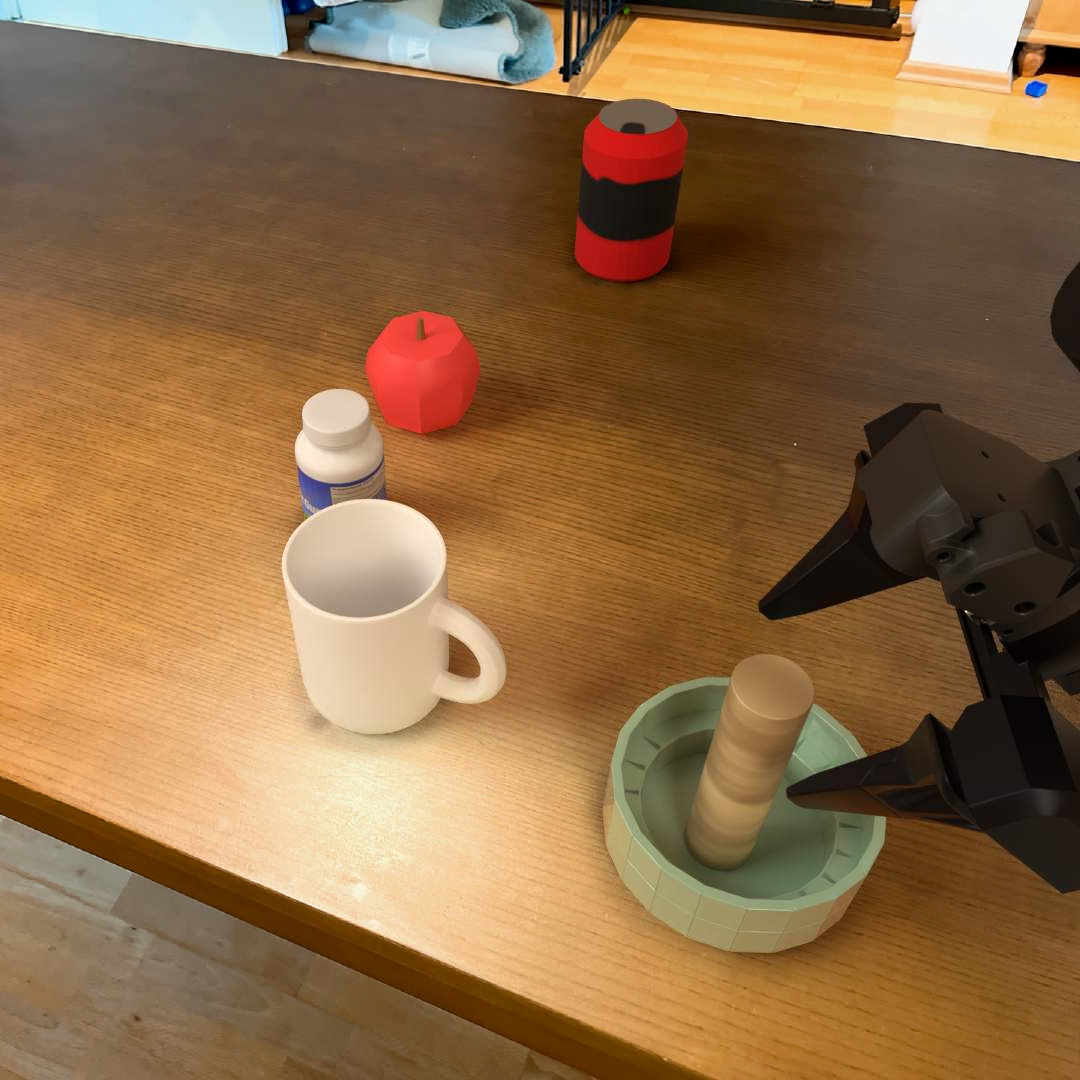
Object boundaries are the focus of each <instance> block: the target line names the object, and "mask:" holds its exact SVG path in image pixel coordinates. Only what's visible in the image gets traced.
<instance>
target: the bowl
mask: <svg viewBox="0 0 1080 1080" xmlns="http://www.w3.org/2000/svg"><path fill="white" fill-rule="evenodd" d="M730 679H731V676H730V677H728V676H727V677H725V676H723V677H722V676H704V677H699V678H696V679H692V680H687V681H684V682H680V683H676V684H672V685H669V686H668V687H666V688H665V689H663V690H661V691H660V692H659V693H657V694H655V695H653V696H652V697H650V698H649V699H647V700H645V701H644V702H642V703H640V705H638V707H637V708H636V709H635V710H634V711H633V713H632V714H631V716H630V717H629V718H628V720H627V721H626V722H625V724H624V725H623V726H622V728H620V730H619V732H618V736H617V740H616V743H615V746H614V751H613V753H612V758H611V762H610V766H609V772H608V778H607V783H606V789H605V794H604V799H603V805H602V820H603V821H602V822H603V829H604V830H603V831H604V841H605V845H606V846H605V847H606V849H607V851H608V854H609V855H610V858H611V860H612V863H613V865H614V867H615V869H616V872H617V873H618V876H619V878H620V880H621V882H622V883H623V884H624V885H625V887H626V888H627V889H628V890H629V891H630V892H631V894H632V895H633V896H634V898H636V900H637V901H639V903H640V904H641V905H642V906H643V907H644V909H645V910H646V911H647V912H648V913H649V914H650V915H652V916H654V917H655V918H657V919H658V920H660V921H661V922H663V923H664V924H666V925H667V926H668V927H670V928H672V929H673V930H675V932H677V933H679V934H680V935H682V936H684V937H685V938H687V939H689V940H693V941H696V942H699V943H702V944H705V945H708V946H711V947H714V948H716V949H719V950H722V951H726V952H732V953H733V952H735V953H758V954H759V953H760V954H765V953H766V954H774V953H775V954H776V953H778V952H782V951H784V950H788V949H791V948H795V947H798V946H801V945H805V944H808V943H811V942H813V941H814V940H816V939H817V938H819V937H820V936H821V935H823V933H825V932H826V931H827V930H829V929H830V928H831V927H833V926H834V925H835V924H837V923H838V922H839V921H840V920H841V919H842V918H843V916H844V914H845V913H846V911H847V910H848V908H849V906H850V904H851V903H852V902H853V900H854V898H855V896H856V895H857V893H858V892H859V890H860V888H861V886H862V884H863V882H864V881H865V880H866V878H867V876H868V875H869V873H870V871H871V869H872V867H873V865H874V863H875V862H876V860H877V858H878V856H879V854H880V852H881V851H882V849H883V847H884V845H885V841H886V832H887V831H886V830H887V818H888V817H882V816H873V815H863V814H854V813H844V812H835V811H825V810H816V809H806V808H801V807H799V806H797V805H796V804H794V803H793V802H791V801H790V800H788V799H787V797H786V788H787V787H788V786H790V785H793V784H795V783H797V782H799V781H801V780H803V779H805V778H807V777H809V776H811V775H813V774H816V773H818V772H821V771H824V770H827V769H830V768H833V767H836V766H839V765H842V764H846V763H849V762H852V761H855V760H858V759H861V758H864V757H867V756H868V754H867V753H866V751H865V750H864V748H863V747H862V745H861V744H860V742H859V741H858V740H857V738H856V736H855V735H854V734H853V733H852V732H851V731H850V730H849V729H847V728H846V727H845V726H844V725H843V724H841V722H840V721H838V720H837V719H836V718H835V717H834V716H832V715H831V714H830V713H829V712H828V711H826V709H824V707H821V706H820V705H818V704H816V703H813V705H812V708H811V710H810V713H809V715H808V718H807V720H806V722H805V725H804V727H803V730H802V732H801V735H800V737H799V739H798V742H797V744H796V747H795V749H794V752H793V754H792V756H791V759H790V761H789V764H788V766H787V769H786V771H785V773H784V776H783V778H782V781H781V783H780V786H779V788H778V790H777V793H776V795H775V798H774V800H773V803H772V805H771V807H770V810H769V812H768V815H767V817H766V820H765V822H764V824H763V827H762V829H761V832H760V834H759V837H758V839H757V841H756V844H755V846H754V849H753V851H752V854H751V856H750V858H749V860H748V861H747V862H746V863H745V864H744V865H743V866H741V867H740V868H737V869H735V870H731V871H718V870H713V869H710V868H708V867H706V866H704V865H702V864H701V863H699V862H698V861H697V860H696V859H695V858H694V857H693V856H692V855H691V853H690V852H689V850H688V848H687V846H686V843H685V839H684V831H685V827H686V824H687V820H688V817H689V814H690V811H691V807H692V804H693V801H694V797H695V794H696V791H697V788H698V784H699V781H700V778H701V774H702V771H703V768H704V764H705V761H706V758H707V755H708V751H709V748H710V745H711V741H712V738H713V735H714V732H715V728H716V725H717V722H718V718H719V715H720V712H721V708H722V705H723V702H724V699H725V695H726V692H727V689H728V685H729V682H730Z"/></svg>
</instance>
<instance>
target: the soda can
mask: <svg viewBox="0 0 1080 1080" xmlns="http://www.w3.org/2000/svg"><path fill="white" fill-rule="evenodd" d="M688 140H689V132H688V130H687V128H686V126H685V125H684V124H683V122H682V120H681V118H680V117H679V115H678V113H677V111H676V110H675V109H674V107H672V106H670V105H669V104H666V103H665V102H662V101H659V100H655V99H648V98H625V99H621V100H617V101H612V102H611V103H608V104H607V105H605V106H603V108H601V110H600V111H599V112H598V114H597V115H596V116H595V117H594V118H593V119H592V121H590V122H589V123H588V124H587V126H586V127H585V129H584V134H583V147H582V157H581V158H582V159H581V169H580V171H581V172H580V182H579V183H580V184H579V194H578V195H579V196H578V207H577V218H576V232H575V244H574V257H575V261H576V262H577V263H578V265H579V266H580V267H581V268H582V269H583V270H584V271H585V272H587V273H588V274H590V275H591V276H593V277H596V278H597V279H601V280H604V281H608V282H616V283H629V282H637V281H642V280H645V279H649V278H650V277H653V276H654V275H656V274H657V273H658V272H660V271H661V270H663V268H665V266H666V265H667V264H668V263H669V261H670V255H671V249H672V242H673V238H674V237H673V236H674V229H675V224H676V216H677V211H678V204H679V203H678V202H679V199H680V191H681V185H682V178H683V172H684V167H685V166H684V165H685V158H686V152H687V145H688Z"/></svg>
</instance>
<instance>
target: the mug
mask: <svg viewBox="0 0 1080 1080" xmlns="http://www.w3.org/2000/svg"><path fill="white" fill-rule="evenodd" d="M281 557H282V558H281V574H282V578H283V579H282V580H283V584H284V589H285V595H286V599H287V604H288V609H289V615H290V620H291V625H292V626H291V627H292V631H293V637H294V641H295V646H296V651H297V657H298V662H299V667H300V673H301V678H302V682H303V686H304V688H305V691H306V694H307V696H308V698H309V700H310V702H311V704H312V706H314V708H315V709H316V711H317V712H318V713H319V714H320V715H321V716H322V717H324V718H325V719H326V720H328V721H329V722H330V723H331V724H333V725H336V726H337V727H339V728H341V729H343V730H346V731H349V732H353V733H356V734H363V735H386V734H390V733H391V734H392V733H395V732H399V731H401V730H404V729H407V728H409V727H412V726H413V725H415V724H417V723H418V722H420V721H421V720H423V719H424V718H425V717H427V716H428V715H429V714H430V713H431V712H432V710H434V709H435V707H436V706H437V705H438V703H439V702H440V701H441V698H442V699H444V700H448V701H451V702H455V703H458V704H459V703H460V704H465V705H466V704H468V705H474V704H481V703H484V702H487V701H490V700H491V699H493V698H495V697H496V695H498V693H499V692H500V691H502V689H503V686H504V685H505V682H506V677H507V674H508V673H507V672H508V669H507V668H508V667H507V661H506V656H505V653H504V649H503V648H502V645H501V643H500V641H499V640H498V638H497V636H496V635H495V634H494V632H492V630H491V629H490V628H489V627H488V626H487V625H486V624H485V622H483V621H482V619H480V618H478V617H477V616H476V615H475V614H473V612H471V611H469V610H468V609H466V608H465V607H463V606H461V605H460V604H458V603H456V602H454V601H453V600H450V599H449V590H448V589H449V583H448V581H449V579H448V577H449V576H448V575H449V574H448V551H447V547H446V543H445V539H444V538H443V536H442V533H441V532H440V530H439V529H438V528H437V526H436V525H435V524H434V523H433V522H432V521H431V519H429V518H428V517H427V516H426V515H424V514H423V513H421V512H420V511H418V510H416V509H414V508H413V507H410V506H408V505H406V504H403V503H400V502H397V501H392V500H380V499H358V500H351V501H345V502H342V503H338V504H335V505H332V506H329V507H327V508H325V509H323V510H321V511H319V512H317V513H315V514H314V515H312V516H310V517H309V518H308V519H307V520H304V521H302V522H301V524H300V525H299V526H298V527H296V528H295V529H294V531H293V533H292V534H291V535H290V537H289V538H288V540H287V543H286V544H285V547H284V549H283V553H282V556H281ZM450 635H451V636H452V637H454V638H456V639H457V640H459V641H460V642H462V643H463V644H464V645H465V646H466V647H467V648H469V650H470V651H471V652H472V653H473V655H474V656H475V658H476V660H477V662H478V665H479V668H480V673H479V675H478V676H477V677H464V676H460V675H457V674H455V673H453V672H450V671H449V668H450Z"/></svg>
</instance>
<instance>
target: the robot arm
mask: <svg viewBox="0 0 1080 1080" xmlns="http://www.w3.org/2000/svg"><path fill="white" fill-rule="evenodd" d="M1049 320H1050V330H1051V337H1052V339H1053V340H1054V342H1055V344H1056V346H1057V347H1058V348H1059V349H1060V350H1061V352H1062V353H1063V354H1064V355H1065V357H1066V358H1067V360H1069V361H1070V363H1071V364H1072V365H1073V366H1074V368H1075V369H1076V370H1077V371H1078V372H1079V373H1080V260H1079V261H1078V263H1077V264H1076V265H1075V266H1074V267H1073V269H1072V270H1071V271H1070V273H1068V275H1067V276H1066V277H1065V279H1064V280H1063V282H1062V283H1061V286H1060V288H1059V290H1058V291H1057V293H1056V295H1055V297H1054V300H1053V304H1052V307H1051V311H1050V316H1049ZM862 427H863V431H864V433H865V437H866V441H867V444H868V448H869V452H870V454H869V452H867V451H866V450H865V449H861V450H859V451H858V453H857V454H856V456H855V458H854V463H853V464H854V467H855V473H854V474H855V475H854V480H853V483H852V489H851V492H850V496H849V497H850V498H849V502H848V505H847V508H846V509H845V511H844V512H843V514H841V516H839V518H838V519H837V520H836V521H835V523H834V524H833V525H832V526H831V527H830V528H829V529H828V530H827V531H826V533H825V534H824V535H823V536H822V537H821V539H819V540H818V541H817V542H816V543H815V544H814V546H812V548H811V549H810V550H809V551H807V553H806V554H805V555H804V556H803V557H802V558H801V559H800V560H798V561H797V563H796V564H795V565H794V566H792V568H791V569H789V570H788V572H787V573H785V575H784V576H782V578H781V579H780V580H779V581H777V583H776V584H774V585H773V587H771V588H770V590H769V591H768V592H766V593H765V595H764V596H763V597H761V598H760V600H759V601H758V603H757V608H758V612H759V613H760V614H761V615H762V616H763V617H765V618H766V619H768V620H769V621H778V620H784V619H789V618H793V617H800V616H804V615H807V614H808V615H809V614H811V613H815V612H818V611H821V610H824V609H828V608H832V607H834V606H838V605H841V604H843V603H844V604H845V603H847V602H850V601H853V600H857V599H861V598H863V597H866V596H871V595H873V594H876V593H879V592H883V591H886V590H889V589H893V588H896V587H898V586H903V585H907V584H910V583H914V582H916V581H919V580H923V579H926V578H928V579H931V580H934V581H936V582H939V583H940V585H941V589H942V591H943V595H944V598H945V602H946V603H947V605H949V606H952V607H954V609H955V612H956V615H957V619H958V621H959V625H960V629H961V631H962V635H963V639H964V641H965V644H966V648H967V651H968V654H969V657H970V660H971V664H972V667H973V671H974V673H975V676H976V680H977V683H978V686H979V690H980V693H981V696H982V699H983V700H980V701H977V702H974V703H972V704H969V705H967V706H965V708H964V709H963V711H962V713H961V714H960V715H959V717H958V719H957V720H956V722H955V723H954V725H953V726H952V728H951V729H950V728H949V727H947V725H945V724H944V723H943V722H942V721H940V720H939V719H938V718H937V717H935V716H934V714H932V713H931V712H929V713H927V714H925V715H924V716H923V718H922V720H921V721H920V722H919V724H918V725H917V727H916V728H915V730H914V731H913V733H912V734H911V736H910V737H909V738H908V740H907V741H906V742H904V743H903V744H900V745H897V746H894V747H890V748H888V749H885V750H882V751H879V752H876V753H874V754H869V755H867V757H864V758H861V759H858V760H855V761H852V762H849V763H846V764H842V765H839V766H836V767H833V768H830V769H827V770H824V771H821V772H818V773H816V774H813V775H811V776H809V777H807V778H805V779H803V780H801V781H799V782H797V783H795V784H793V785H790V786H788V787H787V788H786V797H787V799H788V800H790V801H791V802H793V803H794V804H796V805H797V806H799V807H801V808H806V809H816V810H825V811H835V812H844V813H854V814H863V815H873V816H882V817H887V818H892V819H903V820H909V821H918V822H925V823H930V824H937V825H941V826H946V827H952V828H956V829H961V830H965V831H970V832H975V833H979V834H983V835H986V836H987V837H988V838H990V839H991V840H992V841H993V842H995V843H996V844H998V845H999V846H1000V847H1001V848H1002V849H1004V850H1005V851H1006V852H1007V853H1009V854H1010V855H1012V856H1013V857H1014V858H1015V859H1016V860H1018V861H1019V862H1020V863H1022V864H1023V865H1024V866H1026V867H1027V868H1028V869H1029V870H1031V871H1032V872H1033V873H1035V874H1036V875H1037V876H1038V877H1040V878H1041V879H1042V880H1044V881H1045V882H1046V883H1047V884H1049V885H1050V886H1051V887H1052V888H1054V889H1055V890H1056V891H1058V893H1060V894H1061V895H1064V894H1069V893H1072V892H1073V893H1074V892H1078V891H1080V729H1079V728H1078V727H1077V726H1075V725H1074V724H1073V723H1072V722H1071V721H1070V720H1069V719H1068V718H1067V717H1065V715H1064V714H1062V712H1060V711H1059V710H1058V709H1057V708H1056V707H1055V706H1054V705H1053V702H1052V699H1051V697H1050V694H1049V692H1048V689H1047V688H1048V687H1047V685H1046V682H1049V681H1051V680H1053V681H1054V682H1055V683H1056V684H1057V685H1058V686H1059V687H1060V688H1061V689H1062V690H1063V691H1064V692H1065V693H1066V694H1068V696H1070V697H1073V696H1076V695H1079V694H1080V449H1078V450H1076V451H1073V452H1072V453H1070V454H1068V455H1065V456H1063V457H1061V458H1058V459H1057V458H1056V459H1052V460H1049V461H1042V460H1039V458H1036V457H1033V456H1032V455H1030V454H1029V453H1028V452H1026V451H1025V450H1024V449H1022V447H1020V446H1018V445H1016V444H1014V443H1013V442H1011V441H1008V440H1007V439H1004V438H1002V437H999V436H997V435H994V434H992V433H990V432H987V431H985V430H982V429H980V428H978V427H975V426H973V425H971V424H968V423H967V422H964V421H961V420H959V419H956V418H954V417H953V416H952V415H951V414H950V413H949V411H947V410H946V408H945V407H943V405H941V403H936V402H935V403H934V402H928V403H927V402H903V403H902V404H900V405H898V406H897V407H895V408H893V409H891V410H889V411H888V412H886V413H884V414H882V415H880V416H879V417H876V418H874V419H873V420H871V421H869V422H867V423H866V424H864V425H862ZM993 632H995V634H996V636H997V638H998V641H999V644H1001V646H1002V648H1001V650H1002V651H1000V652H999V649H998V647H997V643H996V640H995V638H994V634H993Z"/></svg>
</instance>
